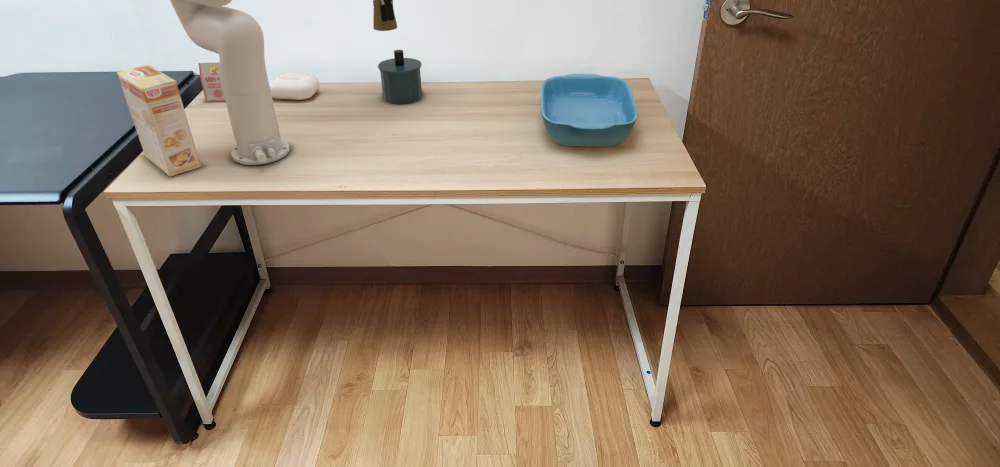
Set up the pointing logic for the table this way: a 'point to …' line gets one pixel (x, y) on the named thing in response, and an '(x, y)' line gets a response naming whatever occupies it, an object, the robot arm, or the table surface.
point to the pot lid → (399, 64)
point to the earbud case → (294, 86)
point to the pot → (401, 87)
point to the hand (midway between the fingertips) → (384, 17)
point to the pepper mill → (377, 21)
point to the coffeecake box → (159, 119)
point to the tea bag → (211, 82)
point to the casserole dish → (588, 109)
